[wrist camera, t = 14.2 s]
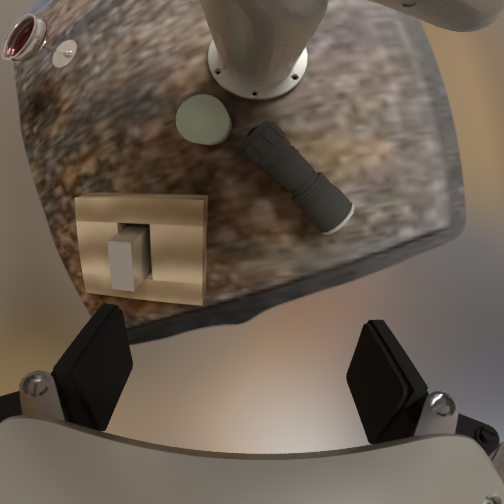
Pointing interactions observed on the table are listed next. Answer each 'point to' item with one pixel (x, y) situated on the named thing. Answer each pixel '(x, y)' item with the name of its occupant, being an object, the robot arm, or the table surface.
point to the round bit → (203, 120)
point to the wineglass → (34, 42)
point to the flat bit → (130, 256)
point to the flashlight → (298, 177)
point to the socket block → (161, 236)
